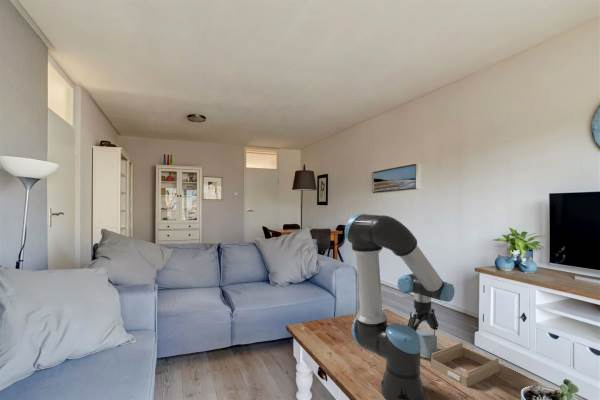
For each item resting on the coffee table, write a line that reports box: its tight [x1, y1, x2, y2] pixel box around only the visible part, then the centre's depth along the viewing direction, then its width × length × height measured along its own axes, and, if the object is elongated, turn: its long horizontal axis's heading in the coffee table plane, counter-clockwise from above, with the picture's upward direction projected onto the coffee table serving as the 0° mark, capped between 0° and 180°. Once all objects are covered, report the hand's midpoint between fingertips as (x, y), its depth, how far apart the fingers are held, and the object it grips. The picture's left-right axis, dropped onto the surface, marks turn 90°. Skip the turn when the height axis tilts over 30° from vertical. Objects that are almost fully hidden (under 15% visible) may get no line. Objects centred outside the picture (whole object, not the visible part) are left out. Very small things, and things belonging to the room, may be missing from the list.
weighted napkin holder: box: [416, 327, 438, 360], centre depth 141 cm, size 5×12×9 cm, turn 29°
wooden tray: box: [430, 342, 500, 388], centre depth 125 cm, size 22×16×6 cm
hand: (422, 345), depth 141 cm, fingers open, 13 cm apart
